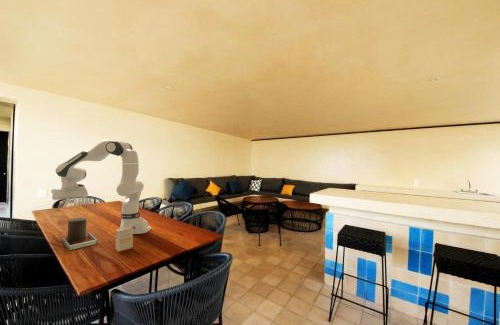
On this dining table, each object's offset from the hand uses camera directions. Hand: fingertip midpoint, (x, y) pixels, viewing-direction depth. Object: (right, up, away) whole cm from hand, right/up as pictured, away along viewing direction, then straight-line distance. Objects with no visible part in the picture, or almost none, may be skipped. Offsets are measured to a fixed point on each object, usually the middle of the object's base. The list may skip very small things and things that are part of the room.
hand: (71, 202), depth 150 cm
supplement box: (+54, -25, -24) cm, 64 cm away
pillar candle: (+13, -23, -11) cm, 29 cm away
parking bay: (+20, -23, -16) cm, 34 cm away
